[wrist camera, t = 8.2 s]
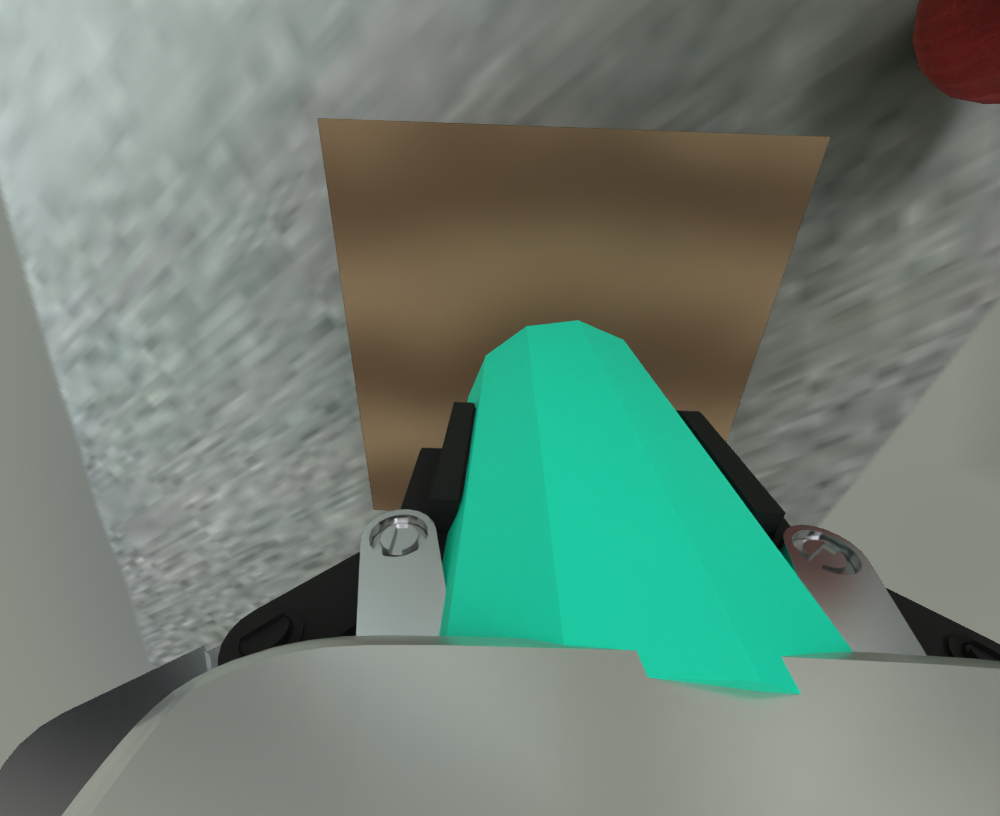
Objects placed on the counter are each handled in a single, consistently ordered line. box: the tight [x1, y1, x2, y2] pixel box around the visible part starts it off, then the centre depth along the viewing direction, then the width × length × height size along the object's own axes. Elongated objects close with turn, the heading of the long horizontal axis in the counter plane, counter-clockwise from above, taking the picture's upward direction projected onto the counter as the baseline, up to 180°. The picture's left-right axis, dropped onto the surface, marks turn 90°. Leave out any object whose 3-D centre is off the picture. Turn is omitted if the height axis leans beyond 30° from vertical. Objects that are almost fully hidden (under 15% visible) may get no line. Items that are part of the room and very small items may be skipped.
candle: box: [439, 320, 853, 694], centre depth 9 cm, size 6×6×12 cm
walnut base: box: [317, 118, 830, 511], centre depth 19 cm, size 16×16×4 cm
